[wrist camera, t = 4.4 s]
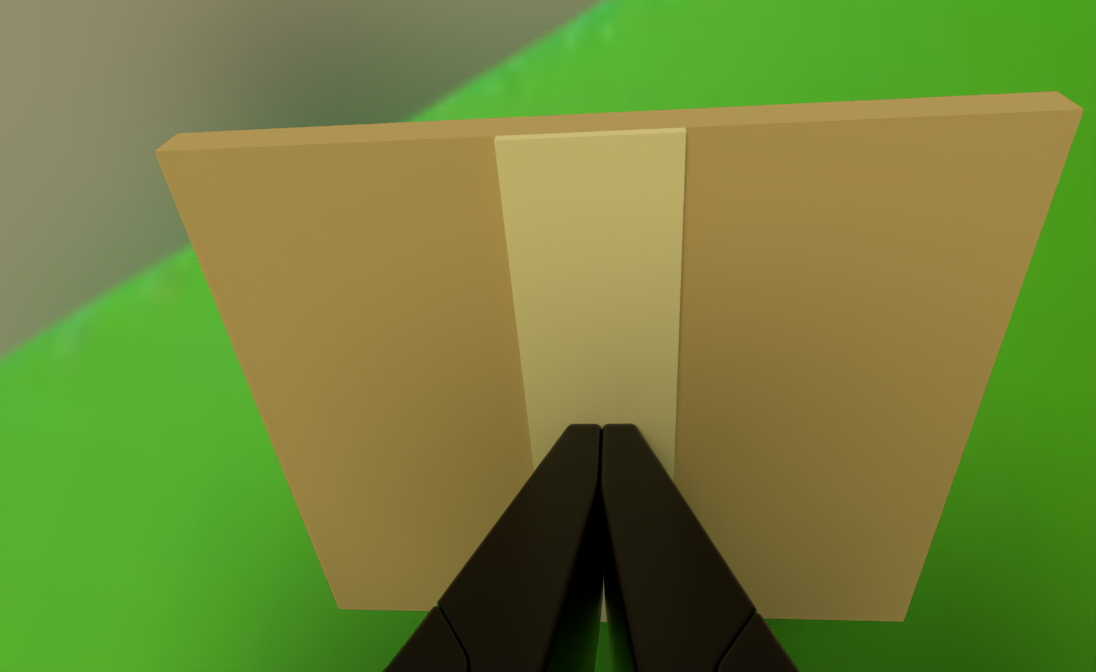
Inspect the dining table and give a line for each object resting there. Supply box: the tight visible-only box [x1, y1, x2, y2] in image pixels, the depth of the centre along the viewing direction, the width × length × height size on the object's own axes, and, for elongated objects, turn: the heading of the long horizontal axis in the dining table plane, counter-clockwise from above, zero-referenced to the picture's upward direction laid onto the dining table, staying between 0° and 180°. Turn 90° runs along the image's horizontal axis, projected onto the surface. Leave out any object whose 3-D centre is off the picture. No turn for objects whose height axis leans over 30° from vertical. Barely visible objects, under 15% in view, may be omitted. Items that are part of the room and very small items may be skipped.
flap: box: [155, 91, 1084, 622], centre depth 9 cm, size 8×9×1 cm
